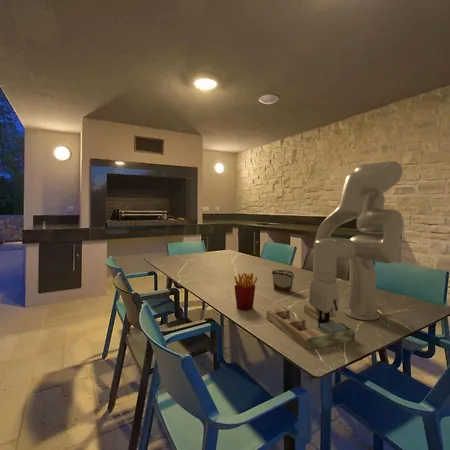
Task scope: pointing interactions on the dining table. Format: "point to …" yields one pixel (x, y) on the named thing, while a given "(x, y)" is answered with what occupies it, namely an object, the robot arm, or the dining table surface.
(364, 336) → the dining table surface
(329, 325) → the block
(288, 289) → the food container
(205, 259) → the dining table surface
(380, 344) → the dining table surface
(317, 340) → the channel
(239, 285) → the french fries
